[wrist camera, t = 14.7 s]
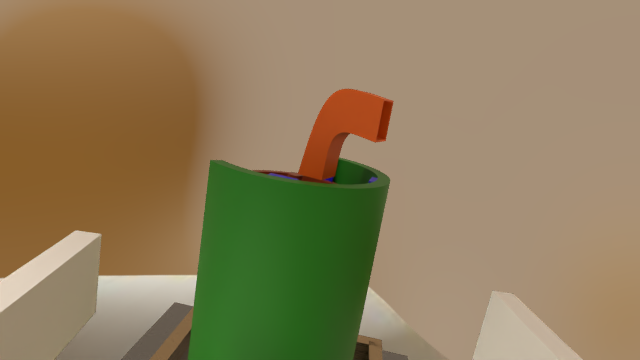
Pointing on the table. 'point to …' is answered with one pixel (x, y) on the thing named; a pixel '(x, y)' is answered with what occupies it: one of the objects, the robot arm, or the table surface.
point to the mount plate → (175, 330)
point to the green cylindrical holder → (292, 246)
